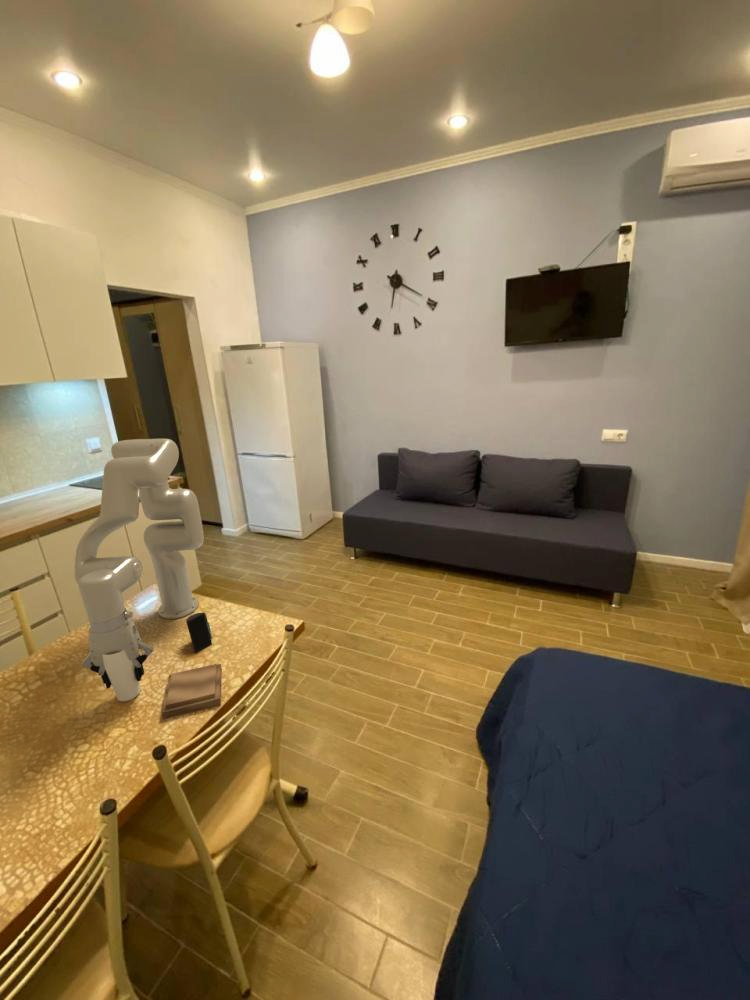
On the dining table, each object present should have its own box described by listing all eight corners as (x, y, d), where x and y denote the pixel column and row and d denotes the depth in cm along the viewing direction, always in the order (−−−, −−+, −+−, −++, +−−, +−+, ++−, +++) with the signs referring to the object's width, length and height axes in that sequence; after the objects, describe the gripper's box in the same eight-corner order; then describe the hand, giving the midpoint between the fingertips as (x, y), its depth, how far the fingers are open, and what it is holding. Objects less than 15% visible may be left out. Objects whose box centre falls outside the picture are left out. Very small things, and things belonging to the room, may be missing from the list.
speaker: (215, 646, 124) (207, 615, 122) (195, 654, 122) (186, 622, 119) (211, 634, 131) (203, 605, 128) (191, 642, 128) (183, 612, 125)
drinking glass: (130, 706, 104) (116, 657, 99) (107, 703, 105) (92, 653, 100) (149, 686, 110) (137, 638, 105) (127, 683, 111) (114, 636, 106)
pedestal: (170, 681, 112) (168, 672, 111) (221, 669, 115) (220, 660, 114) (163, 719, 100) (160, 709, 99) (220, 704, 104) (219, 695, 103)
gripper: (151, 604, 106) (164, 663, 112) (72, 618, 101) (90, 679, 107) (145, 621, 99) (160, 682, 105) (60, 637, 94) (81, 700, 100)
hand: (125, 680), depth 106 cm, fingers closed on drinking glass, 6 cm apart
